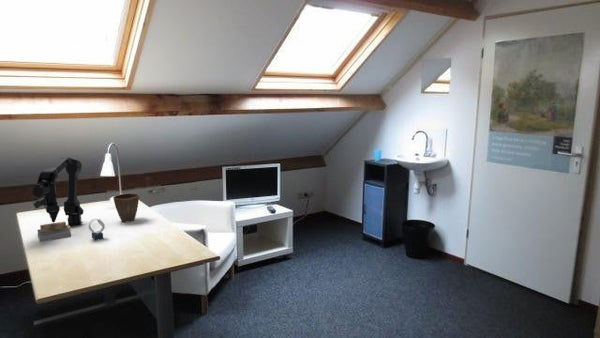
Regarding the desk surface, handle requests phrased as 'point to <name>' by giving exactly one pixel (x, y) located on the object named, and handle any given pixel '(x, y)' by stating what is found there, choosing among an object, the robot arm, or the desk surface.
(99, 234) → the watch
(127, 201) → the plant pot
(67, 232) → the rack
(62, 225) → the panel
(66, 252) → the desk surface
